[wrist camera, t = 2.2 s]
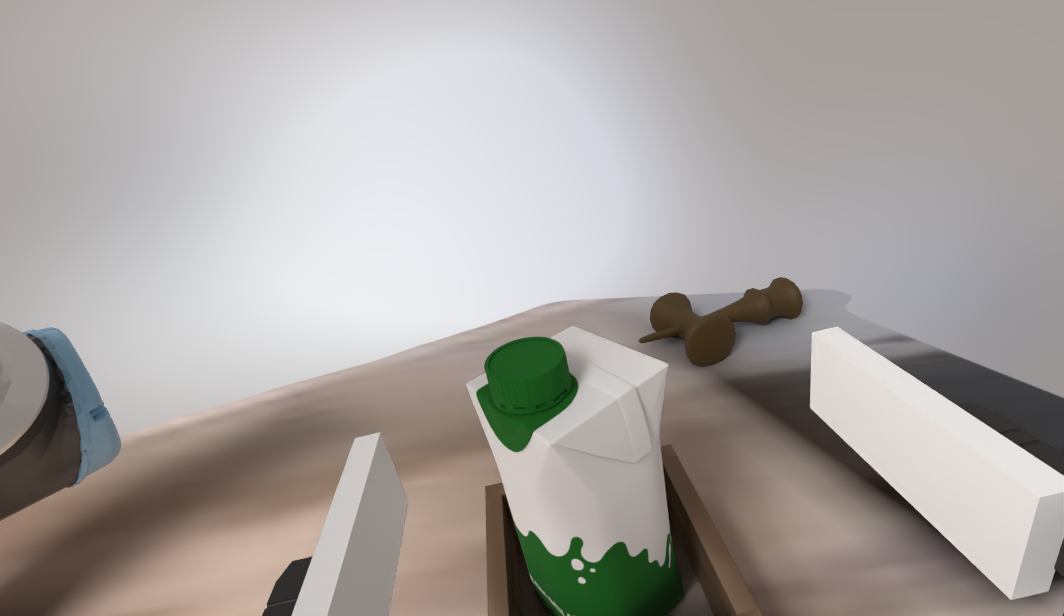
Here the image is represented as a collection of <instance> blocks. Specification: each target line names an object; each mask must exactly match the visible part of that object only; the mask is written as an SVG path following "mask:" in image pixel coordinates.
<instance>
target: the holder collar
mask: <svg viewBox="0 0 1064 616" xmlns="http://www.w3.org/2000/svg"><path fill="white" fill-rule="evenodd" d="M661 455H662V464H663V473H664V481H665V490H666V499H667V508H668V513H669V515H670V517H671V520H672V522H673V524H674V526H675V529H676V531H677V533H678V535H679V537H680V540H681V542H682V544H683V546H684V549H685V551H686V553H687V555H688V558H689V560H690V562H691V564H692V567H693V569H694V571H695V573H696V576H697V578H698V580H699V582H700V585H701V587H702V589H703V591H704V593H705V596H706V598H707V600H708V602H709V605H710V607H711V609H712V611H713V614H714V616H763V615H762V613H761V611H760V610H759V608H758V606H757V604H756V602H755V600H754V598H753V597H752V595H751V593H750V591H749V589H748V587H747V585H746V584H745V582H744V580H743V578H742V576H741V574H740V572H739V570H738V569H737V567H736V565H735V563H734V561H733V559H732V557H731V556H730V554H729V552H728V550H727V548H726V546H725V544H724V543H723V541H722V539H721V537H720V535H719V533H718V531H717V530H716V528H715V526H714V524H713V522H712V520H711V518H710V517H709V515H708V513H707V511H706V509H705V507H704V505H703V504H702V502H701V500H700V498H699V496H698V494H697V492H696V491H695V489H694V487H693V485H692V483H691V481H690V479H689V478H688V476H687V474H686V472H685V470H684V468H683V466H682V465H681V463H680V461H679V459H678V457H677V455H676V453H675V452H674V450H673V448H672V446H671V445H667V446H662V447H661ZM485 491H486V542H487V592H488V616H522V611H521V599H520V587H519V575H518V563H517V551H516V542H518V541H519V537H518V534H517V530H516V527H515V524H514V520H513V517H512V513H511V510H510V507H509V503H508V500H507V496H506V493H505V490H504V486H503V483H498V484H494V485H490V486H485Z"/></svg>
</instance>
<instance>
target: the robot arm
mask: <svg viewBox="0 0 1064 616" xmlns="http://www.w3.org/2000/svg"><path fill="white" fill-rule="evenodd" d="M810 408H811V409H812V410H813V411H814V412H815V413H816V414H817V415H818V416H819V417H820V418H821V419H822V420H823V421H824V422H825V423H827V424H828V425H829V426H830V427H831V428H832V429H833V430H834V431H835V432H836V433H837V434H838V435H839V436H840V437H841V438H842V439H843V440H844V441H845V442H846V443H847V444H848V445H850V446H851V447H852V448H853V449H854V450H855V451H856V452H857V453H858V454H859V455H860V456H861V457H862V458H863V459H864V460H865V461H866V462H867V463H868V464H869V465H870V466H871V467H873V468H874V469H875V470H876V471H877V472H878V473H879V474H880V475H881V476H882V477H883V478H884V479H885V480H886V481H887V482H888V483H889V484H890V485H891V486H892V487H893V488H894V489H896V490H897V491H898V492H899V493H900V494H901V495H902V496H903V497H904V498H905V499H906V500H907V501H908V502H909V503H910V504H911V505H912V506H913V507H914V508H915V509H916V510H917V511H919V512H920V513H921V514H922V515H923V516H924V517H925V518H926V519H927V520H928V521H929V522H930V523H931V524H932V525H933V526H934V527H935V528H936V529H937V530H938V531H939V532H940V533H941V534H943V535H944V536H945V537H946V538H947V539H948V540H949V541H950V542H951V543H952V544H953V545H954V546H955V547H956V548H957V549H958V550H959V551H960V552H961V553H962V554H963V555H964V556H966V557H967V558H968V559H969V560H970V561H971V562H972V563H973V564H974V565H975V566H976V567H977V568H978V569H979V570H980V571H981V572H982V573H983V574H984V575H985V576H986V577H987V578H989V579H990V580H991V581H992V582H993V583H994V584H995V585H996V586H997V587H998V588H999V589H1000V590H1001V591H1002V592H1003V593H1004V594H1005V595H1006V596H1007V597H1008V598H1009V599H1010V600H1014V599H1018V598H1022V597H1026V596H1031V595H1035V594H1039V593H1043V592H1048V591H1049V588H1050V585H1051V582H1052V579H1053V576H1054V572H1055V570H1056V571H1058V572H1059V573H1060V574H1061V575H1062V576H1064V454H1062V453H1061V452H1059V451H1058V450H1056V449H1054V448H1053V447H1051V446H1050V445H1048V444H1046V443H1045V442H1044V443H1041V442H1040V439H1038V438H1037V437H1035V436H1033V435H1032V434H1030V433H1029V432H1027V431H1022V430H1021V427H1019V426H1017V425H1016V424H1014V423H1013V422H1011V421H1009V420H1008V419H1006V418H1004V417H1003V416H1001V415H1000V414H998V413H996V412H993V411H990V410H988V409H985V408H982V407H980V406H977V405H974V404H972V403H965V404H961V405H955V404H954V403H952V402H951V401H949V400H948V399H946V398H945V397H943V396H942V395H940V394H939V393H937V392H936V391H934V390H933V389H931V388H930V387H928V386H927V385H925V384H924V383H922V382H921V381H919V380H917V379H916V378H914V377H913V376H911V375H910V374H908V373H907V372H905V371H904V370H902V369H901V368H899V367H898V366H896V365H895V364H893V363H892V362H890V361H889V360H887V359H886V358H884V357H883V356H881V355H880V354H878V353H876V352H875V351H873V350H872V349H870V348H869V347H867V346H866V345H864V344H863V343H861V342H860V341H858V340H857V339H855V338H854V337H852V336H851V335H849V334H848V333H846V332H845V331H843V330H842V329H840V328H838V327H833V328H829V329H825V330H820V331H816V332H812V354H811V391H810ZM120 449H121V440H120V437H119V434H118V431H117V429H116V427H115V424H114V422H113V420H112V418H111V416H110V414H109V412H108V411H107V409H106V408H105V407H104V403H103V401H102V399H101V397H100V394H99V392H98V390H97V388H96V386H95V384H94V382H93V380H92V379H91V377H90V375H89V373H88V371H87V369H86V368H85V366H84V364H83V362H82V361H81V359H80V357H79V355H78V354H77V352H76V350H75V349H74V347H73V345H72V344H71V342H70V341H69V339H68V338H67V336H66V335H65V334H63V333H62V332H61V331H60V330H59V329H56V328H44V329H40V330H30V331H26V332H23V333H22V332H20V331H19V330H17V329H15V328H13V327H11V326H9V325H6V324H3V323H0V521H1V520H3V519H5V518H7V517H9V516H11V515H13V514H15V513H17V512H18V511H20V510H22V509H24V508H26V507H28V506H30V505H32V504H34V503H36V502H38V501H40V500H42V499H44V498H46V497H48V496H50V495H52V494H54V493H56V492H58V491H60V490H62V489H64V488H66V487H73V486H74V485H77V484H79V483H80V482H82V480H83V479H84V478H85V477H86V476H88V475H90V474H91V473H93V472H95V471H97V470H98V469H100V468H102V467H104V466H106V465H108V464H109V463H111V462H112V461H113V460H114V459H115V458H116V457H117V455H118V454H119V452H120ZM407 506H408V499H407V496H406V494H405V491H404V489H403V487H402V484H401V482H400V479H399V477H398V474H397V472H396V469H395V467H394V465H393V462H392V460H391V457H390V455H389V452H388V450H387V448H386V445H385V443H384V440H383V438H382V435H381V433H380V432H379V433H375V434H370V435H366V436H362V437H357V438H355V439H354V442H353V445H352V448H351V450H350V453H349V456H348V459H347V462H346V464H345V467H344V470H343V473H342V476H341V478H340V481H339V484H338V487H337V490H336V492H335V495H334V498H333V501H332V504H331V506H330V509H329V512H328V515H327V518H326V520H325V523H324V526H323V529H322V532H321V534H320V537H319V540H318V543H317V546H316V548H315V551H314V554H313V557H308V558H304V559H300V560H295V561H292V562H291V563H290V565H289V566H288V567H287V569H286V570H285V571H284V572H283V574H282V575H281V576H280V578H279V579H278V580H277V581H276V583H275V586H274V588H273V590H272V593H271V595H270V598H269V600H268V603H267V609H265V610H264V612H263V615H262V616H389V611H390V606H391V600H392V594H393V588H394V582H395V576H396V571H397V565H398V559H399V553H400V547H401V541H402V536H403V530H404V524H405V518H406V512H407ZM1063 616H1064V614H1063Z"/></svg>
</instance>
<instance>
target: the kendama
mask: <svg viewBox="0 0 1064 616" xmlns="http://www.w3.org/2000/svg"><path fill="white" fill-rule="evenodd" d="M802 304H803V302H802V295H801V293H800V290H799V288H798V287H797V286H796V285H795V283H793V282H792V281H790V280H789V279H787V278H782V277H780V278H777V279H774V280H773V281H772V283H771V284H770V286H769V287H768V288H766V289H762V290H757V289H754V288H752V289H749V290H746V292H745V294H744V297H743V298H741V299H740V300H738V301H736V302H734V303H732V304H730V305H728V306H726V307H724V308H722V309H720V310H717V311H715V312H713V313H710V314H708V315H706V316H702V317H700V316H698V315H696V314H694V313H693V312H692V308H691V304H690V301H689V300H688V298H687V297H686V296H685V295H684V294H680V293H668V294H666V295H664V296H662V297H660V298H659V299H658V300H657V301H656V302H655V303H654V304H653V307H652V309H651V313H650V321H651V325H652V327H653V329H654V330H655V331H656V333H653V334H650V335H647V336H645V337H642V338H641V339H639V342H640V343H646V342H651V341H655V340H659V339H663V338H666V337H670V336H674V335H676V336H680V337H681V338H683V339H684V340H685V349H686V353H687V357H688V358H689V359H690V361H691V362H692V363H693V364H694V365H698V366H702V367H704V366H709V365H713V364H715V363H718V362H720V361H722V360H723V359H724V358H725V357H727V356H728V355H729V354H730V352H731V350H732V348H733V346H734V343H735V335H736V333H735V328H734V324H733V323H734V322H743V321H754V322H756V323H759V324H766V323H767V322H768V321H769V319H770V318H772V317H778V316H782V317H785V318H788V319H792V318H796V317H798V315H799V314H800V313H801V309H802Z"/></svg>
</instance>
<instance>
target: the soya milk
mask: <svg viewBox="0 0 1064 616" xmlns="http://www.w3.org/2000/svg"><path fill="white" fill-rule="evenodd" d="M668 366H669V364H667V363H665V362H663V361H660V360H658V359H655V358H653V357H650V356H648V355H645V354H643V353H640V352H638V351H635V350H633V349H630V348H628V347H625V346H623V345H620V344H618V343H615V342H613V341H610V340H608V339H605V338H603V337H600V336H598V335H595V334H593V333H590V332H588V331H585V330H583V329H580V328H577V327H575V326H571V327H569V328H567V329H565V330H563V331H562V332H560V333H558V334H556V335H554V336H553V337H551V338H546V337H528V338H522V339H518V340H514V341H511V342H509V343H506V344H504V345H502V346H500V347H499V348H497V349H496V350H494V351H493V352H492V353H491V354H490V355H489V356H488V358H487V359H486V361H485V366H484V367H485V373H483V374H481V375H479V376H477V377H476V378H474V379H472V380H471V381H469V382H467V385H466V387H467V389H468V392H469V394H470V397H471V399H472V402H473V404H474V407H475V409H476V412H477V414H478V417H479V419H480V422H481V424H482V427H483V429H484V432H485V434H486V437H487V440H488V442H489V445H490V447H491V450H492V452H493V455H494V458H495V460H496V463H497V466H498V470H499V473H500V476H501V479H502V483H503V486H504V490H505V493H506V496H507V500H508V503H509V507H510V510H511V513H512V517H513V520H514V524H515V527H516V530H517V534H518V537H519V541H520V544H521V548H522V551H523V554H524V558H525V561H526V565H527V568H528V571H529V575H530V578H531V581H532V584H533V587H534V590H535V593H536V597H537V598H538V599H539V600H540V601H541V602H542V603H543V605H544V606H545V607H546V608H547V609H548V610H549V611H550V613H551V614H552V615H553V616H666V615H667V614H668V613H669V612H670V611H671V610H672V609H673V608H674V607H675V606H676V605H677V604H678V602H679V601H680V600H681V599H682V598H683V597H684V596H685V595H684V590H683V586H682V582H681V577H680V573H679V568H678V564H677V560H676V555H675V551H674V547H673V542H672V538H671V533H670V525H669V516H668V508H667V499H666V490H665V481H664V473H663V464H662V455H661V445H660V425H661V418H662V410H663V403H664V395H665V388H666V380H667V373H668Z"/></svg>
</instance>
